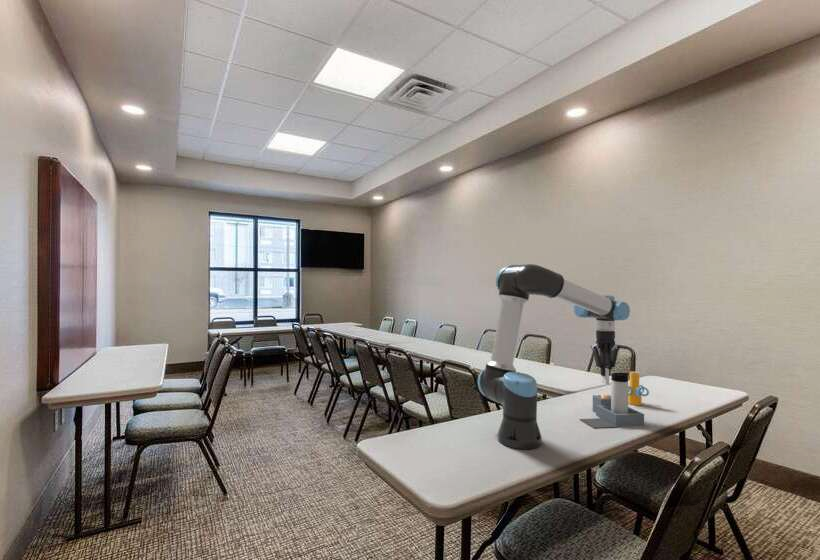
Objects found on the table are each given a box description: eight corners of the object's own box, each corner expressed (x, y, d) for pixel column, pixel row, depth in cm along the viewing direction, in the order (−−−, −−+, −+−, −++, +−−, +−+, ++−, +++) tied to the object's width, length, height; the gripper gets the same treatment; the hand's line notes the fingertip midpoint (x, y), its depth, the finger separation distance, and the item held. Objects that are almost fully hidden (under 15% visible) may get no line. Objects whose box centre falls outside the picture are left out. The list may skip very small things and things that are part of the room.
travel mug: (628, 424, 161) (628, 374, 162) (610, 421, 165) (610, 372, 165) (629, 420, 167) (629, 372, 167) (611, 417, 170) (612, 370, 171)
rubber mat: (593, 428, 156) (593, 427, 156) (579, 419, 166) (579, 418, 166) (617, 427, 158) (617, 426, 158) (601, 419, 167) (601, 418, 167)
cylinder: (651, 408, 183) (651, 375, 184) (626, 406, 185) (627, 374, 186) (641, 400, 195) (641, 370, 195) (618, 399, 197) (618, 369, 198)
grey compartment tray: (615, 426, 159) (615, 408, 159) (588, 411, 178) (588, 395, 178) (644, 425, 161) (644, 407, 161) (613, 410, 180) (613, 394, 180)
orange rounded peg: (603, 412, 174) (603, 396, 174) (599, 410, 177) (599, 394, 177) (611, 412, 174) (611, 396, 174) (606, 410, 178) (606, 394, 178)
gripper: (596, 331, 172) (597, 386, 171) (624, 330, 173) (624, 385, 173) (586, 329, 179) (587, 381, 179) (613, 328, 181) (613, 380, 181)
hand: (605, 383), depth 176 cm, fingers closed
